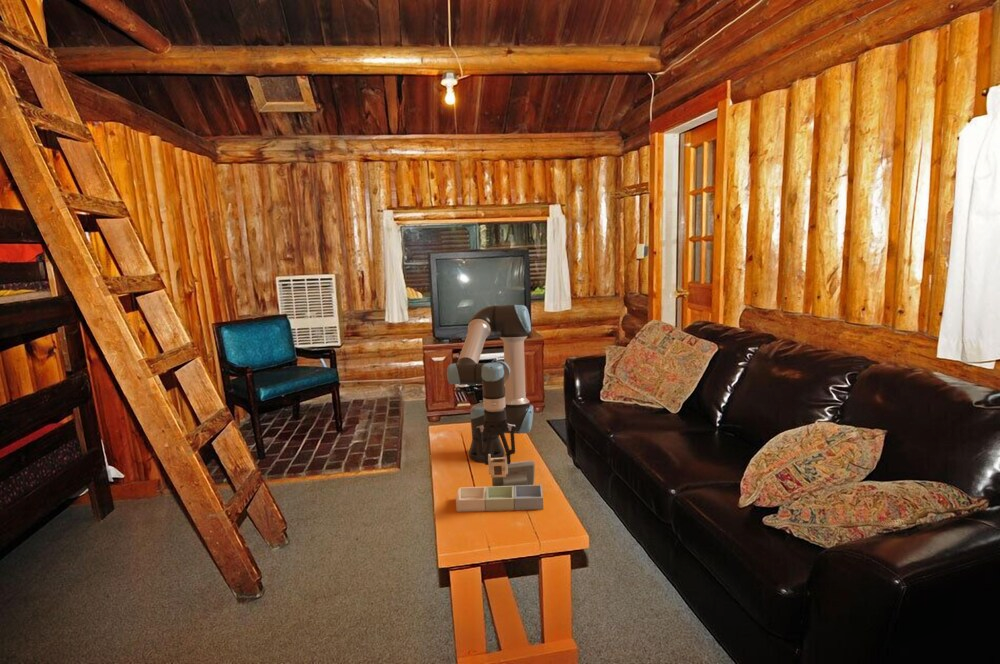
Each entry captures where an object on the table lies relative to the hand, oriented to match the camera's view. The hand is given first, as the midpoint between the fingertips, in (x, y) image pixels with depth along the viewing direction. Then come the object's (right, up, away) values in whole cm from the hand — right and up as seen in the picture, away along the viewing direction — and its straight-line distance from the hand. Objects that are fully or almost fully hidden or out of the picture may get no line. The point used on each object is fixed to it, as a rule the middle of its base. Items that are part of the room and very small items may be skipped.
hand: (498, 472), depth 184 cm
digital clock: (+6, -10, +13) cm, 17 cm away
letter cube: (0, 0, 0) cm, 0 cm away
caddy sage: (+1, -11, +2) cm, 12 cm away
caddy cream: (-9, -12, +2) cm, 15 cm away
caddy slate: (+11, -11, +2) cm, 15 cm away
